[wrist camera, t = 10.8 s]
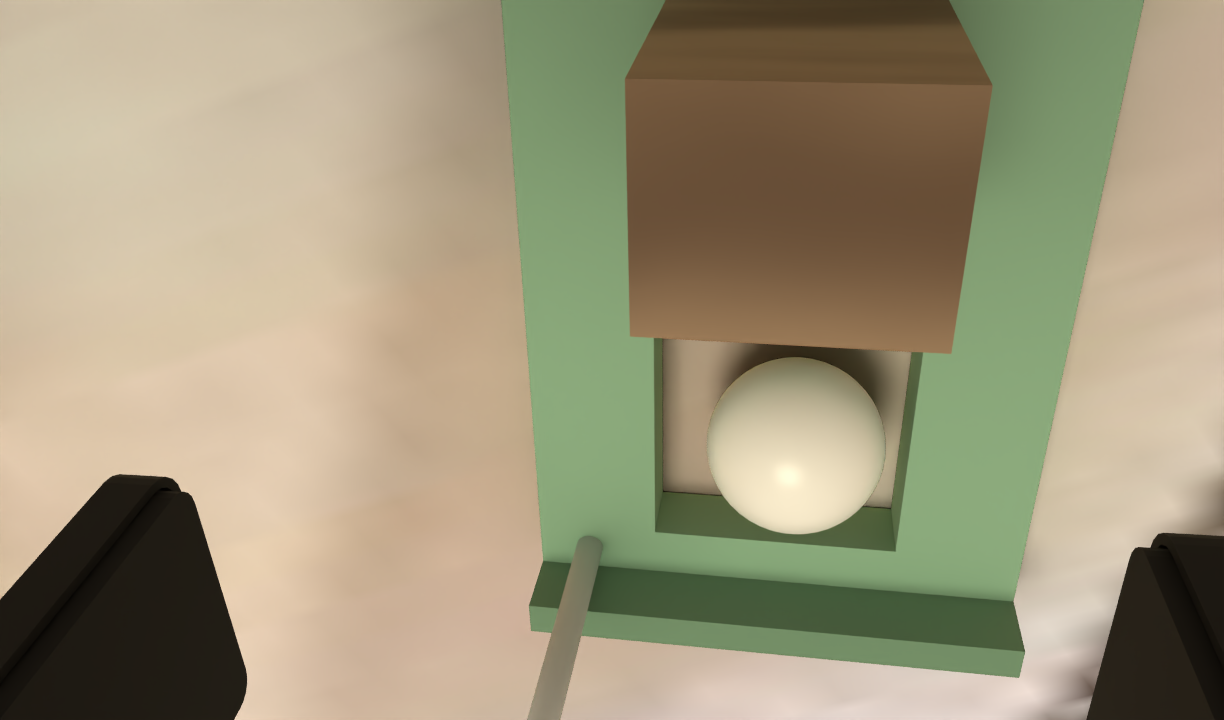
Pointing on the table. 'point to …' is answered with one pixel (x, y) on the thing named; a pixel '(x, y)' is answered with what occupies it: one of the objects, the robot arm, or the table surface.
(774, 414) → the ball
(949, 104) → the block
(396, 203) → the table surface
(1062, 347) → the green
